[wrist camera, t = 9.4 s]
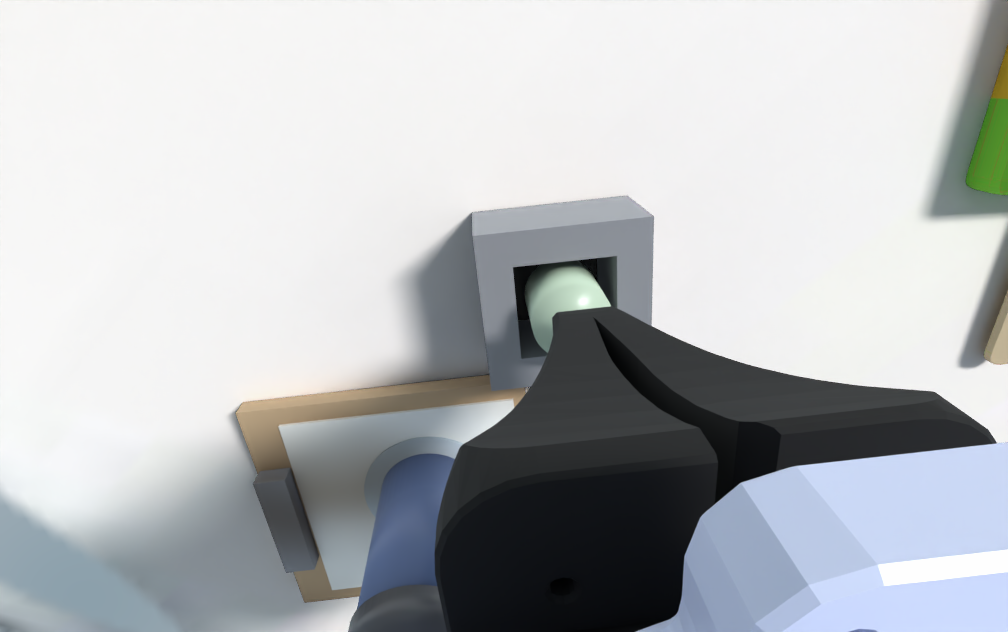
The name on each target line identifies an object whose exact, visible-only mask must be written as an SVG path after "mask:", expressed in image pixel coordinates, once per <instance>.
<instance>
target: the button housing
mask: <svg viewBox="0 0 1008 632" xmlns="http://www.w3.org/2000/svg"><path fill="white" fill-rule="evenodd" d="M653 233H654V216H653V215H652V214H650V213H649V212H648V211H646V210H645V209H644V208H643V207H641V206H640V205H639V204H637V203H636V202H635V201H634V200H632V199H631V198H630V197H629V196H619V197H610V198H600V199H591V200H582V201H572V202H563V203H554V204H545V205H535V206H526V207H517V208H508V209H498V210H489V211H480V212H472V237H473V245H474V253H475V262H476V270H477V278H478V286H479V294H480V302H481V310H482V319H483V327H484V335H485V343H486V351H487V359H488V367H489V375H490V384H491V391H497V390H506V389H515V388H524V387H531V386H532V384H533V382H534V381H535V379H536V378H537V376H538V374H539V372H540V370H541V368H542V366H543V364H544V361H545V359H546V356H547V354H548V353H547V352H546V351H545V350H543V349H542V348H541V347H540V345H539V344H538V343H537V341H536V339H535V337H534V334H533V330H532V326H531V322H530V319H529V320H520V321H518V317H517V306H516V295H515V285H514V274H513V267H520V266H529V265H538V264H547V263H557V262H566V261H575V260H584V259H593V258H597V277H598V285H599V286H600V288H601V290H602V291H603V293H604V294H605V296H606V298H607V299H608V301H609V303H610V305H611V306H612V307H615V308H617V309H620V310H622V311H624V312H626V313H628V314H630V315H631V316H633V317H635V318H637V319H639V320H641V321H643V322H645V323H647V324H648V325H650V326H651V323H652V278H653Z"/></svg>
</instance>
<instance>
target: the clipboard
mask: <svg viewBox="0 0 1008 632" xmlns="http://www.w3.org/2000/svg"><path fill="white" fill-rule="evenodd" d="M524 395H525V387H524V388H515V389H506V390H497V391H491V384H490V375H483V376H474V377H465V378H456V379H447V380H438V381H429V382H420V383H412V384H403V385H394V386H385V387H376V388H367V389H358V390H349V391H340V392H331V393H322V394H313V395H304V396H295V397H286V398H277V399H268V400H259V401H251V402H243V403H242V404H241V406H240V407H239V409H238V410H237V412H236V416H237V419H238V422H239V424H240V427H241V430H242V432H243V435H244V438H245V441H246V443H247V446H248V449H249V452H250V454H251V457H252V460H253V463H254V465H255V468H256V471H257V474H258V475H257V477H256V479H255V481H254V483H253V485H254V488H255V490H256V493H257V496H258V498H259V501H260V504H261V507H262V509H263V512H264V515H265V517H266V520H267V523H268V525H269V528H270V531H271V533H272V536H273V539H274V541H275V544H276V547H277V549H278V552H279V555H280V557H281V560H282V563H283V566H284V568H285V571H286V573H288V572H294V575H295V578H296V580H297V583H298V586H299V589H300V591H301V594H302V597H303V600H304V602H305V603H306V602H315V601H323V600H332V599H340V598H349V597H357V596H360V592H361V587H362V582H363V577H364V572H365V568H366V563H367V558H368V553H369V548H370V543H371V538H372V533H373V528H374V523H375V518H376V513H377V508H378V503H379V498H380V493H381V489H382V484H383V481H384V478H385V476H386V474H387V473H388V472H389V470H390V469H391V468H392V467H393V466H394V465H396V464H397V463H398V462H400V461H402V460H403V459H406V458H408V457H411V456H414V455H419V454H428V453H430V454H441V455H445V456H449V457H451V458H454V459H455V458H456V455H457V453H458V450H459V448H460V447H461V446H462V445H463V444H464V443H466V442H468V441H470V440H471V439H473V438H475V437H476V436H478V435H479V434H481V433H483V432H484V431H486V430H488V429H489V428H491V427H492V426H494V425H495V424H496V423H498V422H499V421H500V420H501V419H503V418H504V417H505V416H506V415H507V414H509V413H510V412H511V411H512V410H513V409H514V407H515V406H516V405H517V404H518V403H519V402H520V400H521V399H522V398H523V397H524Z"/></svg>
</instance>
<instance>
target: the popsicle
mask: <svg viewBox="0 0 1008 632" xmlns="http://www.w3.org/2000/svg"><path fill="white" fill-rule="evenodd" d="M966 184H967V186H969V187H971V188H972V189H975V190H979V191H984V192H988V193H992V194H999V195H1008V45H1007V48H1006V52H1005V55H1004V58H1003V61H1002V64H1001V67H1000V71H999V74H998V77H997V80H996V83H995V86H994V90H993V93H992V96H991V99H990V102H989V105H988V109H987V112H986V115H985V118H984V121H983V124H982V128H981V131H980V134H979V137H978V140H977V143H976V147H975V150H974V153H973V156H972V159H971V162H970V166H969V169H968V172H967V176H966ZM984 358H985V359H986V360H987V361H989V362H991V363H993V364H998V365H1001V364H1008V291H1007V294H1006V296H1005V299H1004V302H1003V304H1002V307H1001V309H1000V312H999V315H998V317H997V320H996V323H995V325H994V328H993V330H992V333H991V336H990V338H989V341H988V344H987V346H986V349H985V352H984Z"/></svg>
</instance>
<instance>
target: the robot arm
mask: <svg viewBox="0 0 1008 632" xmlns="http://www.w3.org/2000/svg"><path fill="white" fill-rule="evenodd" d="M552 326H553V338H552V341H551V345H550V349H549V352H548V354H547V356H546V359H545V361H544V364H543V366H542V368H541V370H540V372H539V374H538V376H537V378H536V379H535V381H534V382H533V384H532V386H531V387H530V389H529V390H528V391H527V393H526V394H525V395H524V397H523V398H522V399H521V400H520V402H519V403H518V404H517V405H516V406H515V407H514V409H513V410H512V411H511V412H510V413H509V414H507V415H506V416H505V417H504V418H503V419H501V420H500V421H499V422H498V423H496V424H495V425H494V426H492V427H491V428H489V429H488V430H486V431H484V432H483V433H481V434H479V435H478V436H476V437H475V438H473V439H471V440H470V441H468V442H466V443H464V444H463V445H462V446H461V447H460V448H459V450H458V453H457V455H456V458H455V460H454V463H453V466H452V468H451V471H450V474H449V477H448V480H447V483H446V486H445V490H444V493H443V497H442V501H441V505H440V510H439V514H438V519H437V526H436V539H435V552H434V555H435V577H436V582H437V587H438V592H439V596H440V601H441V606H442V611H443V616H444V620H445V625H446V630H447V632H1008V442H1006V443H997V442H996V441H995V439H994V438H993V436H992V435H991V433H990V432H989V430H988V429H986V428H985V427H984V426H982V425H981V424H979V423H978V422H976V421H975V420H974V419H972V418H971V417H969V416H968V415H967V414H965V413H964V412H962V411H961V410H959V409H958V408H957V407H955V406H954V405H952V404H951V403H950V402H948V401H947V400H945V399H944V398H942V397H941V396H940V395H938V394H937V393H935V392H931V391H918V390H905V389H892V388H879V387H866V386H857V385H849V384H842V383H835V382H828V381H821V380H815V379H809V378H804V377H798V376H793V375H788V374H784V373H780V372H775V371H771V370H767V369H762V368H758V367H755V366H751V365H747V364H744V363H740V362H737V361H734V360H731V359H728V358H725V357H722V356H719V355H716V354H713V353H710V352H708V351H705V350H702V349H700V348H698V347H695V346H693V345H691V344H688V343H686V342H684V341H681V340H679V339H677V338H675V337H673V336H670V335H668V334H666V333H664V332H662V331H660V330H658V329H656V328H654V327H652V326H650V325H648V324H647V323H645V322H643V321H641V320H639V319H637V318H635V317H633V316H631V315H630V314H628V313H626V312H624V311H622V310H620V309H617V308H615V307H612V306H610V307H600V308H591V309H582V310H573V311H564V312H557V313H556V314H555V315H554V316H553V317H552Z"/></svg>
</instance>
